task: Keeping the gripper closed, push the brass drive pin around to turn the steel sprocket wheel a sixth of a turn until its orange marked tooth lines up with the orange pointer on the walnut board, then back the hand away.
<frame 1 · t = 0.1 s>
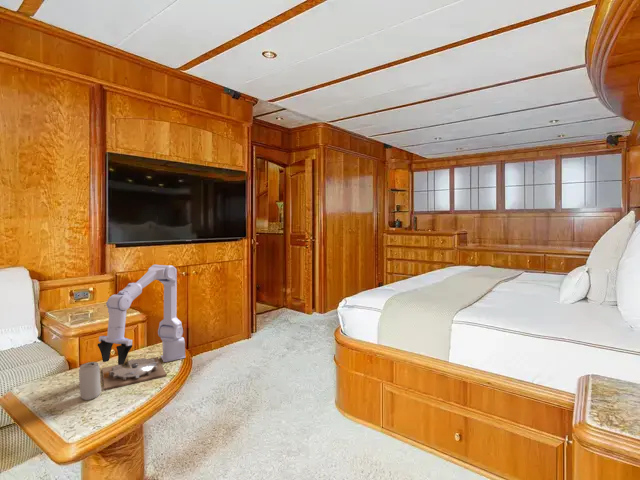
hand: (113, 362, 139), 11 cm above the table, tool pointing down, fingers open, 7 cm apart
beverage can: (90, 396, 134), on the table
walnut board: (135, 372, 154), on the table
sprocket wheel: (134, 363, 154), point 4 cm above the table, hinge at 0.0°
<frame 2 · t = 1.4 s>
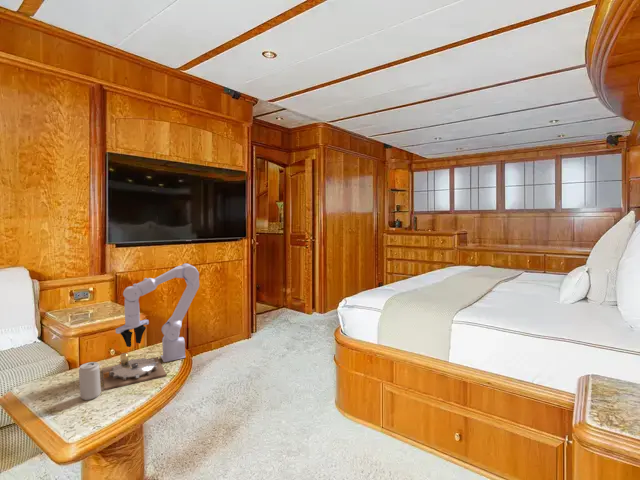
hand: (133, 344, 160), 9 cm above the table, tool pointing down, fingers open, 4 cm apart
nothing on the table moved.
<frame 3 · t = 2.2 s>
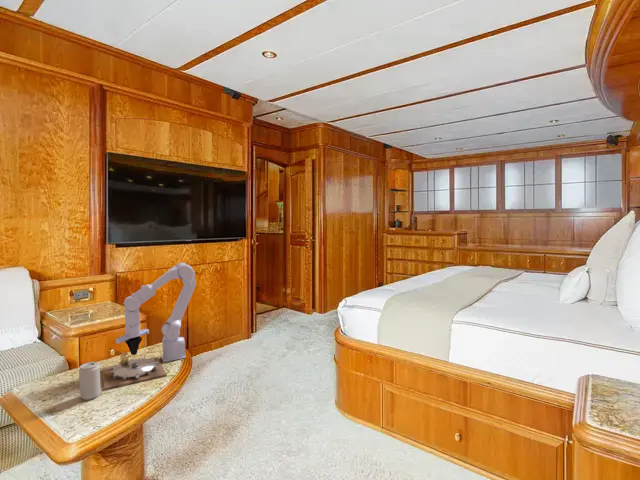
hand: (133, 354, 160), 5 cm above the table, tool pointing down, fingers closed
nothing on the table moved.
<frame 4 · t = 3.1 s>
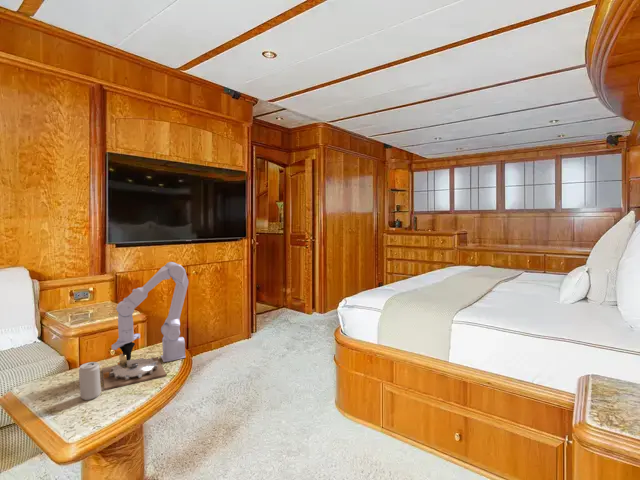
hand: (127, 359, 158), 4 cm above the table, tool pointing down, fingers closed
sprocket wheel: (134, 363, 154), point 4 cm above the table, hinge at 6.0°, touching gripper
everything else where it was.
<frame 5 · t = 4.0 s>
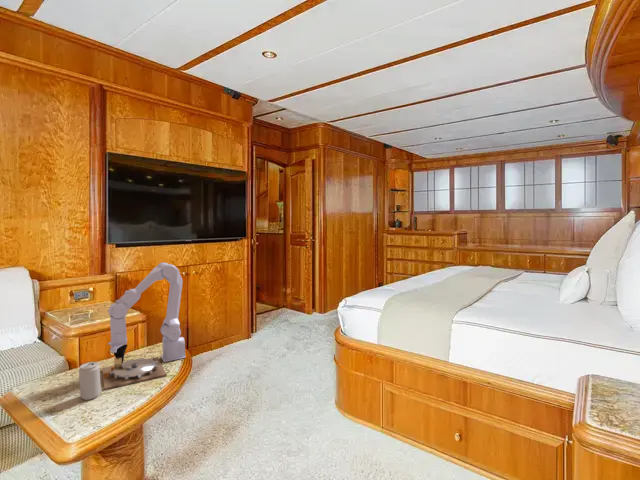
hand: (120, 362, 155), 4 cm above the table, tool pointing down, fingers closed
sprocket wheel: (134, 363, 154), point 4 cm above the table, hinge at 35.0°, touching gripper
everything else where it was.
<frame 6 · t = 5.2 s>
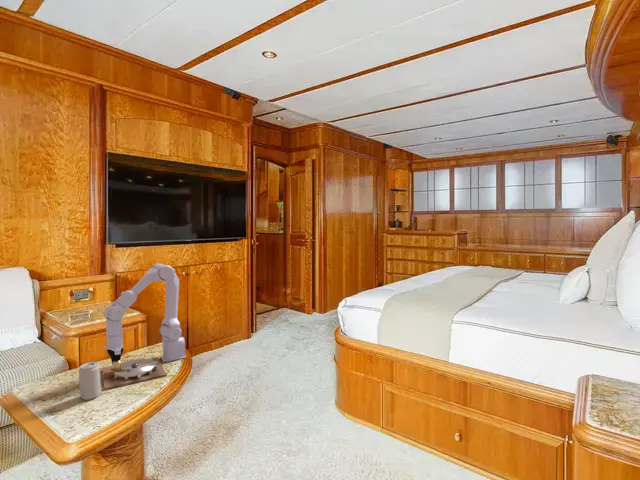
hand: (116, 366, 152), 4 cm above the table, tool pointing down, fingers closed
sprocket wheel: (134, 363, 154), point 4 cm above the table, hinge at 64.0°, touching gripper
everything else where it was.
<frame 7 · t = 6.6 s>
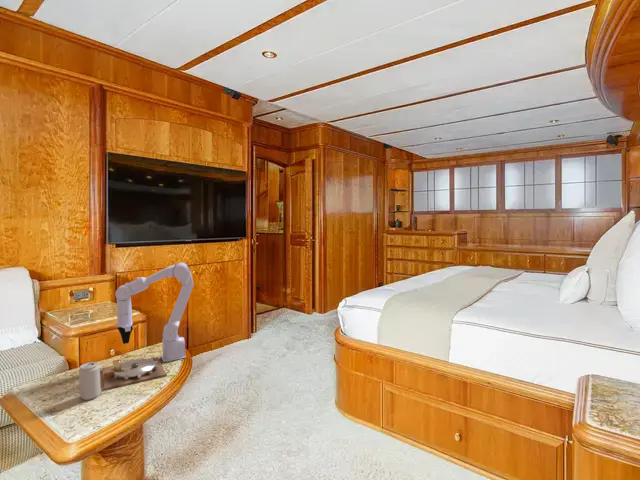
hand: (125, 343, 162), 9 cm above the table, tool pointing down, fingers closed
sprocket wheel: (134, 363, 154), point 4 cm above the table, hinge at 64.2°
everything else where it was.
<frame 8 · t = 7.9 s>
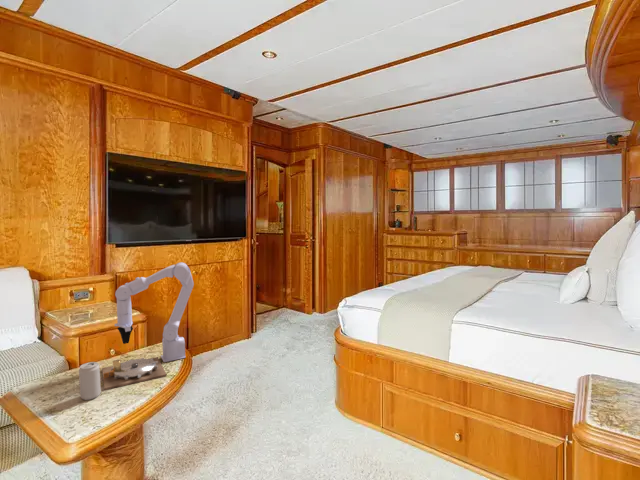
hand: (125, 343, 162), 9 cm above the table, tool pointing down, fingers closed
nothing on the table moved.
at the end: sprocket wheel at +64° (first picture: +0°); beverage can moved 0.2 cm from its start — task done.
